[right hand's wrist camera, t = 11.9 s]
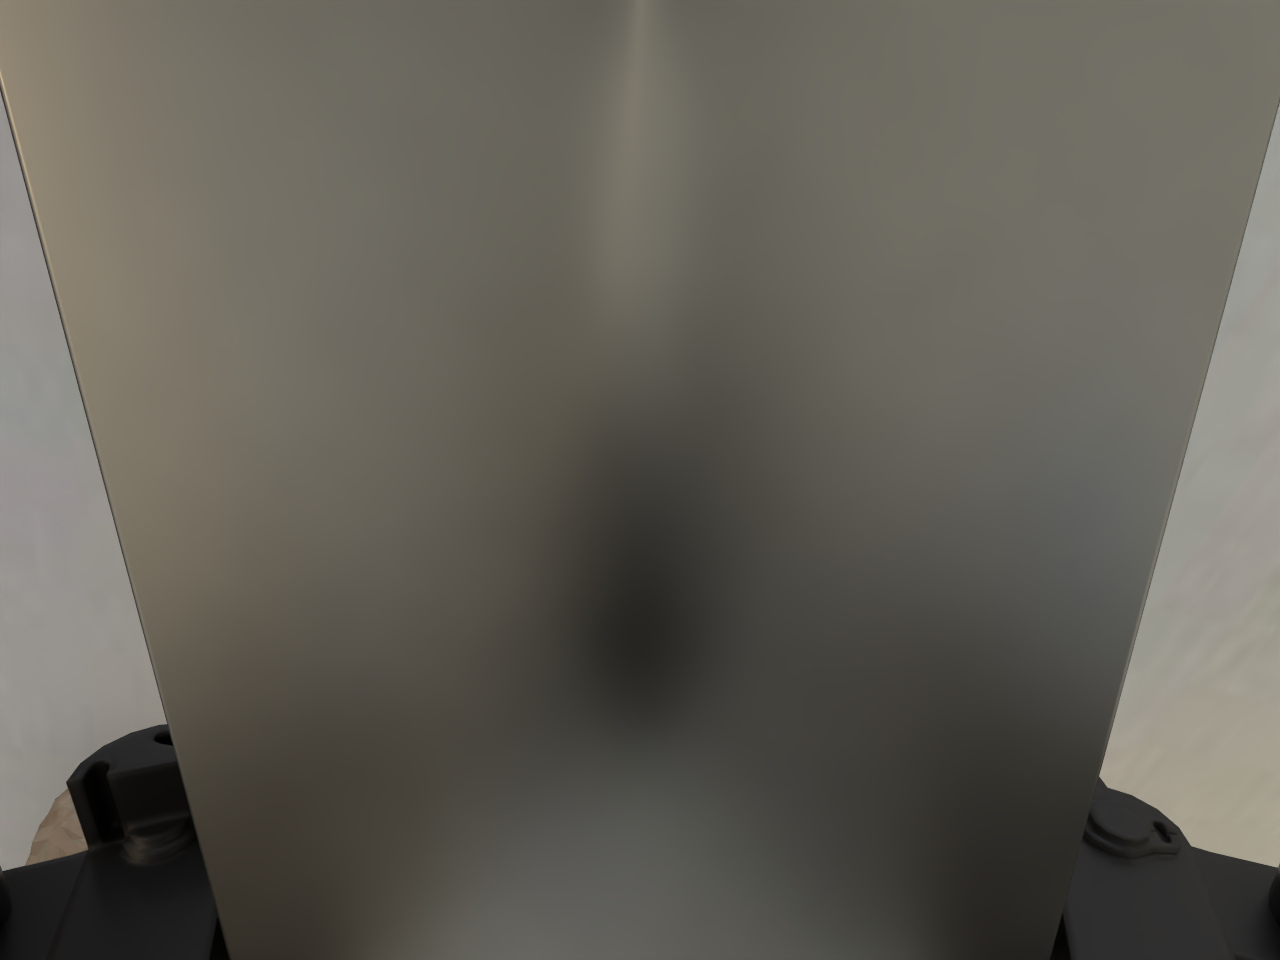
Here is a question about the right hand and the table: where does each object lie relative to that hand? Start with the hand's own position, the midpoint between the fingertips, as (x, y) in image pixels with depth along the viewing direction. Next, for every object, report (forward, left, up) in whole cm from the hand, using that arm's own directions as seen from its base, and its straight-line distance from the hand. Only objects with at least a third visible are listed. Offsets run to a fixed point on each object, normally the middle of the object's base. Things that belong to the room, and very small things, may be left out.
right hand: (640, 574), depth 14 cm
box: (+7, +4, -1) cm, 8 cm away
